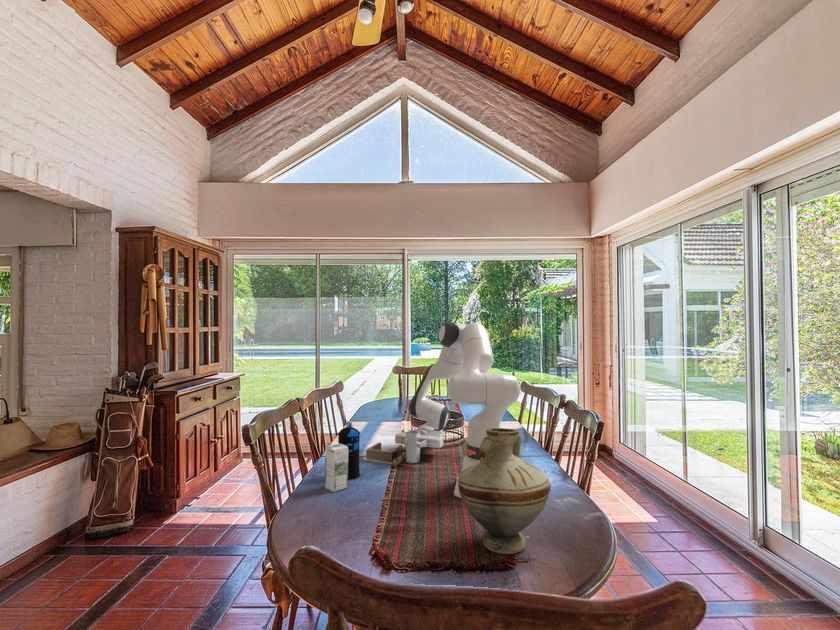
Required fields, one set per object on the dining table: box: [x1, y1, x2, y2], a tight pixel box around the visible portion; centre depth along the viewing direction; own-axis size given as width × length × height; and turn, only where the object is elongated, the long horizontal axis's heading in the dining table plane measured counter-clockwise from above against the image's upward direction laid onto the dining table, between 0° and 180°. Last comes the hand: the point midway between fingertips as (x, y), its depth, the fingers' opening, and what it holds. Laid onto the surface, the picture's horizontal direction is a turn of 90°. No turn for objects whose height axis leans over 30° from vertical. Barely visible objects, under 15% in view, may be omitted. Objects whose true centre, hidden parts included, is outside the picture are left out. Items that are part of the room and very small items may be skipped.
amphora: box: [457, 427, 552, 555], centre depth 118 cm, size 24×24×30 cm
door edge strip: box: [392, 451, 406, 467], centre depth 186 cm, size 16×1×2 cm, turn 159°
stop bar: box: [405, 429, 421, 464], centre depth 184 cm, size 4×4×12 cm
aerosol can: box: [337, 420, 361, 481], centre depth 167 cm, size 8×8×20 cm
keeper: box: [361, 442, 405, 465], centre depth 190 cm, size 14×14×4 cm
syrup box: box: [324, 443, 349, 493], centre depth 155 cm, size 6×6×14 cm
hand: (412, 444), depth 183 cm, fingers closed on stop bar, 4 cm apart
